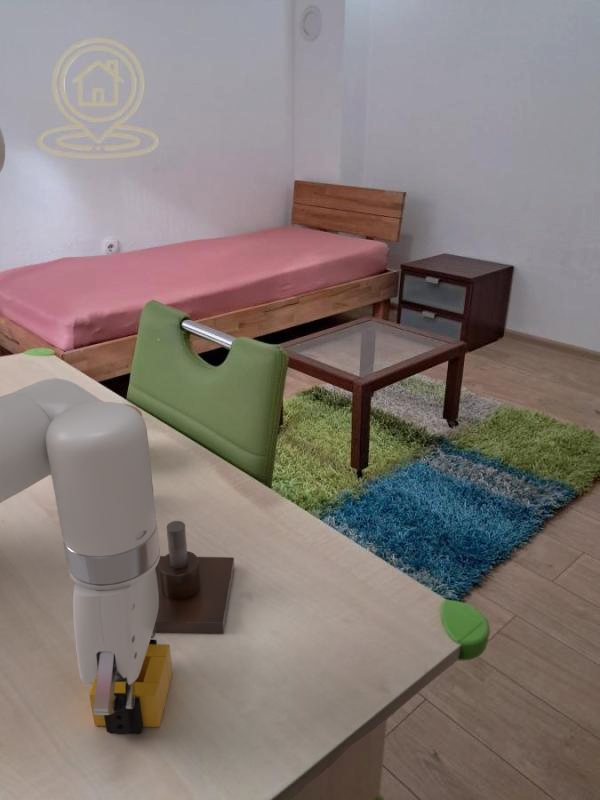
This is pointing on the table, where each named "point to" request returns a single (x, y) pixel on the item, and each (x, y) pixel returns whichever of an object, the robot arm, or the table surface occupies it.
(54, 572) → the table surface
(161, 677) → the yellow block
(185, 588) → the stand
